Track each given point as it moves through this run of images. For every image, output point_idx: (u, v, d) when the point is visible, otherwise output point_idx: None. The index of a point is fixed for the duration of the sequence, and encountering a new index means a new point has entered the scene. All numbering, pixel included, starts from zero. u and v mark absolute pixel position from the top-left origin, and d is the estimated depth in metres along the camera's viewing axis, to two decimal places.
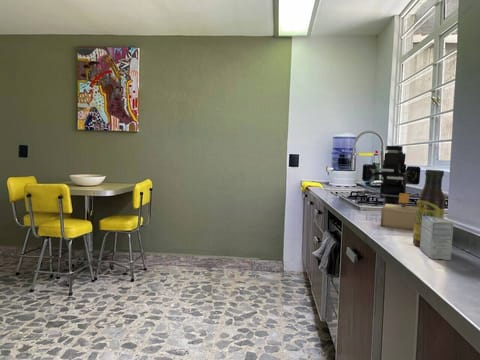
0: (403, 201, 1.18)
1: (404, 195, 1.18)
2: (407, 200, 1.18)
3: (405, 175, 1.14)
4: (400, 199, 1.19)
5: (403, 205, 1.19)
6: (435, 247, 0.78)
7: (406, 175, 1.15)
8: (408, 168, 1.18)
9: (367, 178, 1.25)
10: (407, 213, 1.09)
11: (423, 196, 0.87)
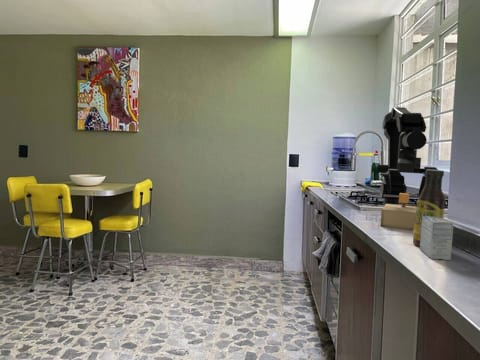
0: (403, 201, 1.18)
1: (404, 195, 1.18)
2: (407, 200, 1.18)
3: (420, 193, 1.17)
4: (400, 199, 1.19)
5: (403, 205, 1.19)
6: (435, 247, 0.78)
7: (421, 191, 1.17)
8: (424, 178, 1.14)
9: None
10: (407, 213, 1.09)
11: (423, 196, 0.87)
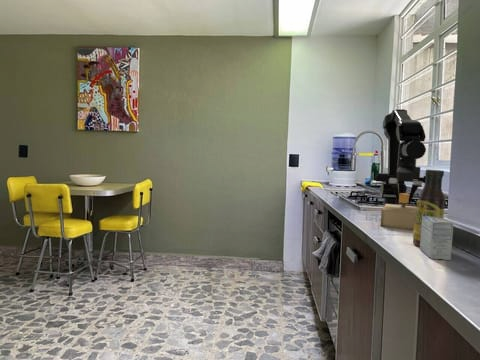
0: (403, 201, 1.18)
1: (404, 195, 1.18)
2: (407, 200, 1.18)
3: (410, 201, 1.19)
4: (400, 199, 1.19)
5: (403, 205, 1.19)
6: (435, 247, 0.78)
7: (411, 199, 1.18)
8: (413, 187, 1.16)
9: None
10: (407, 213, 1.09)
11: (423, 196, 0.87)
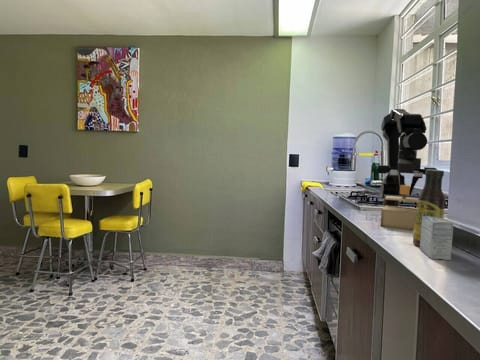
0: (404, 192, 1.20)
1: (405, 187, 1.19)
2: (408, 191, 1.19)
3: None
4: (401, 191, 1.20)
5: (404, 197, 1.21)
6: (435, 247, 0.78)
7: (412, 190, 1.20)
8: (414, 178, 1.17)
9: None
10: (407, 213, 1.09)
11: (423, 196, 0.87)
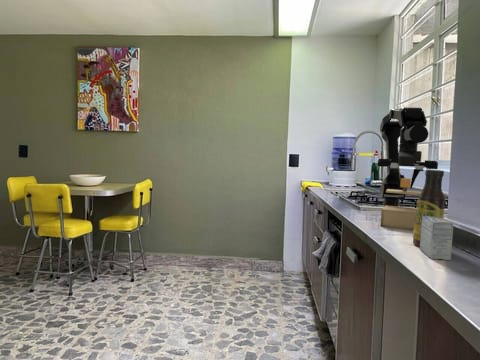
0: (404, 185, 1.21)
1: (405, 180, 1.20)
2: (408, 184, 1.20)
3: None
4: (402, 184, 1.21)
5: (404, 189, 1.22)
6: (435, 247, 0.78)
7: (413, 183, 1.21)
8: (415, 171, 1.18)
9: None
10: (407, 213, 1.09)
11: (423, 196, 0.87)
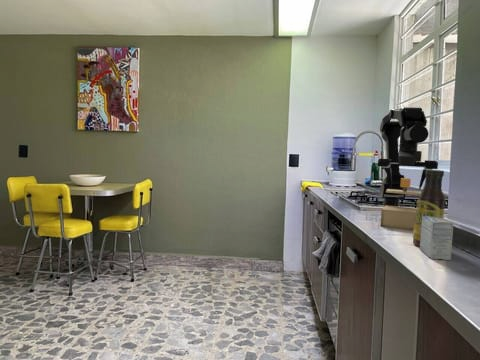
0: (404, 185, 1.21)
1: (405, 180, 1.20)
2: (408, 184, 1.20)
3: (421, 186, 1.19)
4: (402, 184, 1.21)
5: (404, 189, 1.22)
6: (435, 247, 0.78)
7: None
8: (424, 172, 1.17)
9: None
10: (407, 213, 1.09)
11: (423, 196, 0.87)
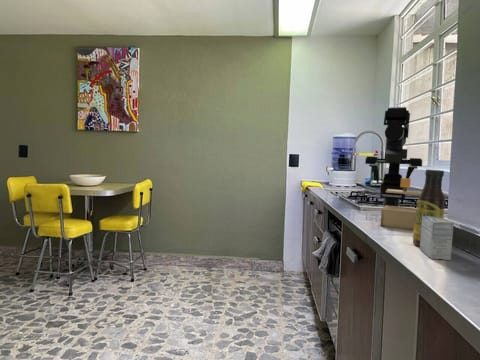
0: (404, 185, 1.21)
1: (405, 180, 1.20)
2: (408, 184, 1.20)
3: None
4: (402, 184, 1.21)
5: (404, 189, 1.22)
6: (435, 247, 0.78)
7: None
8: (410, 169, 1.22)
9: None
10: (407, 213, 1.09)
11: (423, 196, 0.87)
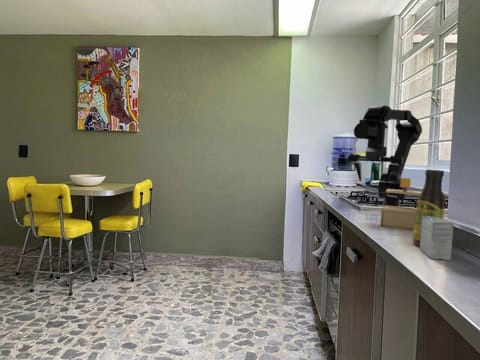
0: (404, 185, 1.21)
1: (405, 180, 1.20)
2: (408, 184, 1.20)
3: (387, 180, 1.27)
4: (402, 184, 1.21)
5: (404, 189, 1.22)
6: (435, 247, 0.78)
7: (388, 178, 1.27)
8: (390, 166, 1.24)
9: None
10: (407, 213, 1.09)
11: (423, 196, 0.87)
